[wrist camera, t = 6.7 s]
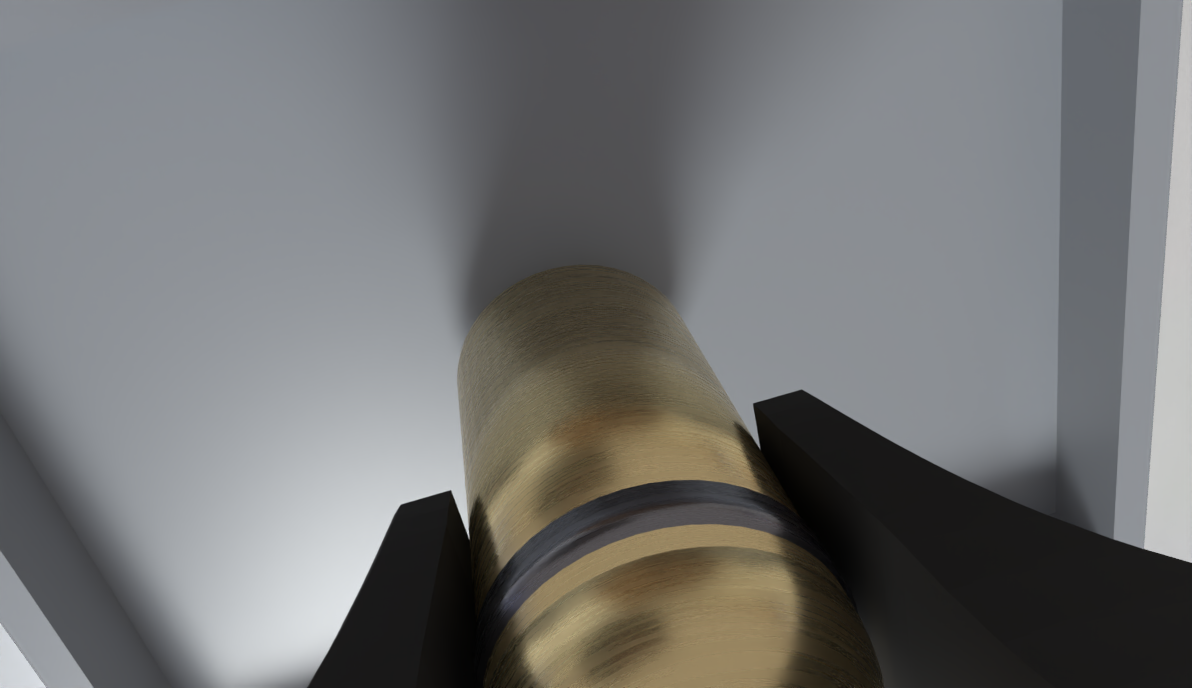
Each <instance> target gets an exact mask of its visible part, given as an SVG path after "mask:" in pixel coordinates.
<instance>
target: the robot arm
mask: <svg viewBox="0 0 1192 688" xmlns="http://www.w3.org/2000/svg"><path fill="white" fill-rule="evenodd" d="M753 408H754V414H755V420H756V426H757V432H758V438H759V444H760V449H761V452H762V453H763V455H764V457H765V458H766V460H767V462H768V464H769V465H770V467H771V469H772V470H773V472H774V474H775V475H776V477H777V479H778V480H779V482H780V484H781V485H782V487H783V489H784V490H785V492H786V494H787V495H788V497H789V499H790V500H791V502H792V504H793V505H794V507H795V509H796V510H797V512H798V514H799V516H800V517H801V518H802V519H803V520H804V521H805V522H806V524H807V525H808V526H809V527H810V528H811V529H812V530H813V531H814V532H815V533H816V535H817V537H818V538H819V540H820V541H821V543H822V544H823V546H824V548H825V549H826V551H827V552H828V554H829V556H830V557H831V559H832V561H833V562H834V564H835V566H836V567H837V569H838V571H839V572H840V574H841V576H842V577H843V579H844V581H845V582H846V584H847V585H848V587H849V589H850V591H851V593H852V596H853V598H854V601H855V603H856V606H857V610H858V614H859V616H860V619H861V621H862V623H863V625H864V627H865V629H866V631H867V633H868V635H869V638H870V640H871V642H872V645H873V647H874V650H875V653H876V656H877V659H878V663H879V666H880V669H881V673H882V678H883V683H884V688H1192V563H1190V562H1186V561H1183V560H1179V559H1176V558H1173V557H1169V556H1166V555H1162V554H1159V553H1155V552H1152V551H1149V550H1145V549H1142V548H1139V547H1136V546H1133V545H1130V544H1127V543H1124V542H1121V541H1118V540H1114V539H1111V538H1108V537H1106V536H1103V535H1100V534H1097V533H1095V532H1092V531H1089V530H1087V529H1084V528H1081V527H1078V526H1076V525H1073V524H1070V523H1068V522H1065V521H1062V520H1060V519H1057V518H1054V517H1051V516H1049V515H1046V514H1043V513H1041V512H1039V511H1036V510H1034V509H1031V508H1029V507H1026V506H1024V505H1021V504H1019V503H1017V502H1014V501H1012V500H1010V499H1008V498H1005V497H1003V496H1001V495H999V494H997V493H994V492H992V491H990V490H988V489H986V488H983V487H981V486H979V485H977V484H975V483H972V482H970V481H968V480H966V479H964V478H962V477H960V476H958V475H956V474H954V473H952V472H950V471H947V470H945V469H943V468H941V467H939V466H937V465H935V464H933V463H932V462H930V461H928V460H926V459H924V458H922V457H920V456H918V455H916V454H914V453H913V452H911V451H909V450H907V449H905V448H903V447H901V446H899V445H898V444H896V443H894V442H892V441H890V440H889V439H887V438H885V437H883V436H881V435H880V434H878V433H876V432H874V431H873V430H871V429H869V428H867V427H866V426H864V425H862V424H860V423H859V422H857V421H855V420H854V419H852V418H850V417H848V416H847V415H845V414H843V413H842V412H840V411H838V410H837V409H835V408H833V407H831V406H830V405H828V404H826V403H825V402H823V401H821V400H820V399H818V398H816V397H814V396H813V395H811V394H809V393H807V392H806V391H804V390H802V389H801V390H798V391H794V392H791V393H787V394H784V395H780V396H777V397H773V398H770V399H767V400H763V401H760V402H756V403H753ZM475 628H476V615H475V603H474V590H473V577H472V565H471V552H470V540H469V537H468V534H467V532H466V529H465V526H464V523H463V521H462V518H461V515H460V513H459V510H458V507H457V504H456V502H455V499H454V496H453V494H452V491H451V490H449V491H446V492H442V493H439V494H435V495H432V496H428V497H425V498H421V499H418V500H414V501H411V502H407V503H404V504H401V505H400V506H399V508H398V510H397V511H396V513H395V515H394V517H393V519H392V521H391V523H390V525H389V528H388V530H387V532H386V534H385V537H384V539H383V541H382V543H381V546H380V548H379V550H378V552H377V554H376V557H375V559H374V561H373V563H372V565H371V567H370V569H369V572H368V574H367V576H366V578H365V580H364V582H363V584H362V586H361V588H360V590H359V592H358V594H357V596H356V598H355V600H354V602H353V604H352V606H351V608H350V610H349V612H348V614H347V616H346V618H345V620H344V622H343V624H342V626H341V628H340V630H339V632H338V634H337V636H336V638H335V639H334V641H333V643H332V645H331V647H330V649H329V650H328V652H327V654H326V656H325V657H324V659H323V661H322V663H321V664H320V666H319V668H318V669H317V671H316V673H315V675H314V676H313V678H312V680H311V682H310V683H309V685H308V687H307V688H476V685H475V671H474V657H473V646H474V632H475Z"/></svg>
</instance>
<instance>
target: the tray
mask: <svg viewBox="0 0 1192 688" xmlns="http://www.w3.org/2000/svg"><path fill="white" fill-rule="evenodd" d="M1182 8H1183V0H0V623H1V624H2V626H3V627H4V629H5V630H6V631H7V633H8V634H9V636H10V637H11V638H12V640H13V641H14V643H15V644H16V645H17V647H18V648H19V650H20V651H21V653H22V654H23V655H24V657H25V658H26V660H27V661H28V662H29V664H30V665H31V667H32V668H33V669H34V671H35V672H36V674H37V675H38V676H39V678H40V679H41V681H42V682H43V683H44V685H45V686H46V688H307V687H308V685H309V683H310V682H311V680H312V678H313V676H314V675H315V673H316V671H317V669H318V668H319V666H320V664H321V663H322V661H323V659H324V657H325V656H326V654H327V652H328V650H329V649H330V647H331V645H332V643H333V641H334V639H335V638H336V636H337V634H338V632H339V630H340V628H341V626H342V624H343V622H344V620H345V618H346V616H347V614H348V612H349V610H350V608H351V606H352V604H353V602H354V600H355V598H356V596H357V594H358V592H359V590H360V588H361V586H362V584H363V582H364V580H365V578H366V576H367V574H368V572H369V569H370V567H371V565H372V563H373V561H374V559H375V557H376V554H377V552H378V550H379V548H380V546H381V543H382V541H383V539H384V537H385V534H386V532H387V530H388V528H389V525H390V523H391V521H392V519H393V517H394V515H395V513H396V511H397V510H398V508H399V506H400V505H401V504H404V503H407V502H411V501H414V500H418V499H421V498H425V497H428V496H432V495H435V494H439V493H442V492H446V491H449V490H451V491H452V494H453V496H454V499H455V502H456V504H457V507H458V510H459V513H460V515H461V518H462V521H463V523H464V526H465V529H466V532H467V534H468V537H469V526H468V514H467V501H466V488H465V475H464V463H463V450H462V437H461V425H460V412H459V399H458V386H457V372H458V363H459V358H460V353H461V350H462V347H463V344H464V341H465V339H466V337H467V335H468V333H469V331H470V329H471V327H472V325H473V324H474V322H475V321H476V320H477V318H478V317H479V315H480V314H481V312H482V311H483V310H484V309H485V308H486V307H487V306H488V305H489V304H490V303H491V302H492V301H493V300H494V299H495V298H496V297H498V296H499V295H500V294H501V293H502V292H503V291H505V290H506V289H508V288H509V287H511V286H513V285H514V284H516V283H517V282H519V281H521V280H523V279H525V278H527V277H529V276H531V275H534V274H536V273H539V272H542V271H545V270H548V269H553V268H557V267H562V266H570V265H599V266H605V267H611V268H615V269H619V270H622V271H625V272H628V273H631V274H633V275H635V276H637V277H639V278H642V279H643V280H645V281H646V282H648V283H649V284H651V285H653V286H654V287H655V288H656V289H658V290H659V291H660V292H661V293H662V294H663V295H665V296H666V297H667V299H668V300H669V301H670V302H671V303H672V304H673V306H674V307H675V308H676V310H677V311H678V313H679V315H680V316H681V318H682V319H683V321H684V323H685V324H686V326H687V328H688V329H689V331H690V333H691V334H692V336H693V338H694V339H695V341H696V343H697V344H698V346H699V348H700V350H701V351H702V353H703V355H704V356H705V358H706V360H707V361H708V363H709V365H710V366H711V368H712V370H713V371H714V373H715V375H716V376H717V378H718V380H719V381H720V383H721V385H722V386H723V388H724V390H725V391H726V393H727V395H728V396H729V398H730V400H731V401H732V403H733V405H734V407H735V408H736V410H737V412H738V413H739V415H740V417H741V418H742V420H743V422H744V423H745V425H746V427H747V428H748V430H749V432H750V433H751V435H752V437H753V438H754V440H755V442H756V443H757V445H758V447H759V448H760V444H759V438H758V432H757V426H756V420H755V414H754V408H753V403H756V402H760V401H763V400H767V399H770V398H773V397H777V396H780V395H784V394H787V393H791V392H794V391H798V390H801V389H802V390H804V391H806V392H807V393H809V394H811V395H813V396H814V397H816V398H818V399H820V400H821V401H823V402H825V403H826V404H828V405H830V406H831V407H833V408H835V409H837V410H838V411H840V412H842V413H843V414H845V415H847V416H848V417H850V418H852V419H854V420H855V421H857V422H859V423H860V424H862V425H864V426H866V427H867V428H869V429H871V430H873V431H874V432H876V433H878V434H880V435H881V436H883V437H885V438H887V439H889V440H890V441H892V442H894V443H896V444H898V445H899V446H901V447H903V448H905V449H907V450H909V451H911V452H913V453H914V454H916V455H918V456H920V457H922V458H924V459H926V460H928V461H930V462H932V463H933V464H935V465H937V466H939V467H941V468H943V469H945V470H947V471H950V472H952V473H954V474H956V475H958V476H960V477H962V478H964V479H966V480H968V481H970V482H972V483H975V484H977V485H979V486H981V487H983V488H986V489H988V490H990V491H992V492H994V493H997V494H999V495H1001V496H1003V497H1005V498H1008V499H1010V500H1012V501H1014V502H1017V503H1019V504H1021V505H1024V506H1026V507H1029V508H1031V509H1034V510H1036V511H1039V512H1041V513H1043V514H1046V515H1049V516H1051V517H1054V518H1057V519H1060V520H1062V521H1065V522H1068V523H1070V524H1073V525H1076V526H1078V527H1081V528H1084V529H1087V530H1089V531H1092V532H1095V533H1097V534H1100V535H1103V536H1106V537H1108V538H1111V539H1114V540H1118V541H1121V542H1124V543H1127V544H1130V545H1133V546H1136V547H1139V548H1142V549H1144V539H1145V525H1146V511H1147V497H1148V483H1149V469H1150V455H1151V441H1152V427H1153V413H1154V400H1155V386H1156V372H1157V358H1158V344H1159V330H1160V316H1161V302H1162V288H1163V274H1164V260H1165V246H1166V232H1167V218H1168V204H1169V190H1170V176H1171V162H1172V148H1173V134H1174V120H1175V106H1176V92H1177V78H1178V64H1179V50H1180V36H1181V22H1182ZM760 450H761V449H760ZM469 540H470V539H469Z"/></svg>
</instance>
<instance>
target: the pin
mask: <svg viewBox="0 0 1192 688" xmlns="http://www.w3.org/2000/svg"><path fill="white" fill-rule="evenodd" d="M457 386H458V399H459V412H460V425H461V437H462V450H463V463H464V475H465V488H466V501H467V514H468V526H469V539H470V552H471V565H472V577H473V590H474V603H475V615H476V628H475V632H474V646H473V657H474V671H475V685H476V688H884V683H883V678H882V673H881V669H880V666H879V663H878V659H877V656H876V653H875V650H874V647H873V645H872V642H871V640H870V638H869V635H868V633H867V631H866V629H865V627H864V625H863V623H862V621H861V619H860V616H859V614H858V610H857V606H856V603H855V601H854V598H853V596H852V593H851V591H850V589H849V587H848V585H847V584H846V582H845V581H844V579H843V577H842V576H841V574H840V572H839V571H838V569H837V567H836V566H835V564H834V562H833V561H832V559H831V557H830V556H829V554H828V552H827V551H826V549H825V548H824V546H823V544H822V543H821V541H820V540H819V538H818V537H817V535H816V533H815V532H814V531H813V530H812V529H811V528H810V527H809V526H808V525H807V524H806V522H805V521H804V520H803V519H802V518H801V517H800V516H799V514H798V512H797V510H796V509H795V507H794V505H793V504H792V502H791V500H790V499H789V497H788V495H787V494H786V492H785V490H784V489H783V487H782V485H781V484H780V482H779V480H778V479H777V477H776V475H775V474H774V472H773V470H772V469H771V467H770V465H769V464H768V462H767V460H766V458H765V457H764V455H763V453H762V452H761V450H760V448H759V447H758V445H757V443H756V442H755V440H754V438H753V437H752V435H751V433H750V432H749V430H748V428H747V427H746V425H745V423H744V422H743V420H742V418H741V417H740V415H739V413H738V412H737V410H736V408H735V407H734V405H733V403H732V401H731V400H730V398H729V396H728V395H727V393H726V391H725V390H724V388H723V386H722V385H721V383H720V381H719V380H718V378H717V376H716V375H715V373H714V371H713V370H712V368H711V366H710V365H709V363H708V361H707V360H706V358H705V356H704V355H703V353H702V351H701V350H700V348H699V346H698V344H697V343H696V341H695V339H694V338H693V336H692V334H691V333H690V331H689V329H688V328H687V326H686V324H685V323H684V321H683V319H682V318H681V316H680V315H679V313H678V311H677V310H676V308H675V307H674V306H673V304H672V303H671V302H670V301H669V300H668V299H667V297H666V296H665V295H663V294H662V293H661V292H660V291H659V290H658V289H656V288H655V287H654V286H653V285H651V284H649V283H648V282H646V281H645V280H643V279H642V278H639V277H637V276H635V275H633V274H631V273H628V272H625V271H622V270H619V269H615V268H611V267H605V266H599V265H570V266H562V267H557V268H553V269H548V270H545V271H542V272H539V273H536V274H534V275H531V276H529V277H527V278H525V279H523V280H521V281H519V282H517V283H516V284H514V285H513V286H511V287H509V288H508V289H506V290H505V291H503V292H502V293H501V294H500V295H499V296H498V297H496V298H495V299H494V300H493V301H492V302H491V303H490V304H489V305H488V306H487V307H486V308H485V309H484V310H483V311H482V312H481V314H480V315H479V317H478V318H477V320H476V321H475V322H474V324H473V325H472V327H471V329H470V331H469V333H468V335H467V337H466V339H465V341H464V344H463V347H462V350H461V353H460V358H459V363H458V372H457Z"/></svg>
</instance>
